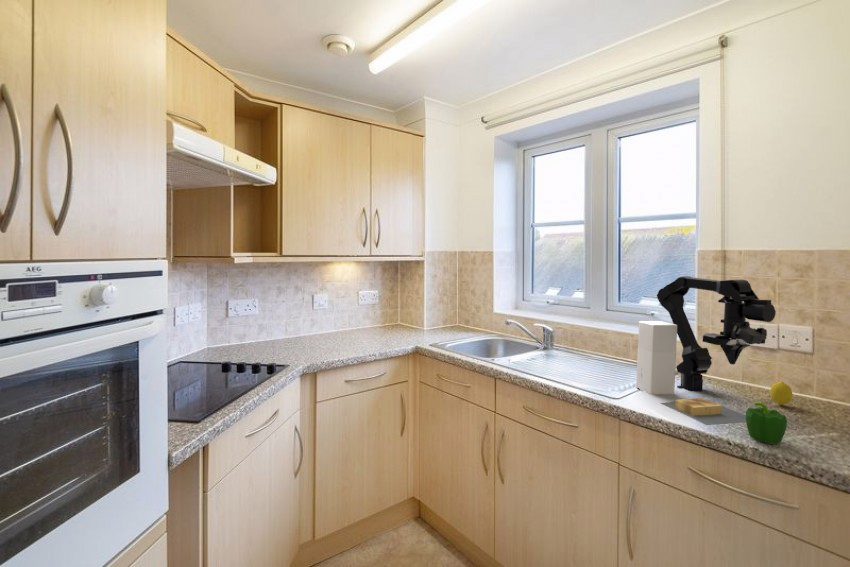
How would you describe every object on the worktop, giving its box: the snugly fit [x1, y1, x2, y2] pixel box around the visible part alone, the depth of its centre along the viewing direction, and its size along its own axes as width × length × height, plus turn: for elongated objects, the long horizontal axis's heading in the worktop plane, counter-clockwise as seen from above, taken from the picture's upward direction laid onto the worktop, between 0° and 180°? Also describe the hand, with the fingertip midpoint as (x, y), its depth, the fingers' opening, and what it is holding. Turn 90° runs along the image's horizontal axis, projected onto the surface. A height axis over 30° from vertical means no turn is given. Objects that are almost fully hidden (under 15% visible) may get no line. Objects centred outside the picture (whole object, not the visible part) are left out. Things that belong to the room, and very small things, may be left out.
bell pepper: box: [745, 401, 788, 445], centre depth 108 cm, size 8×8×10 cm
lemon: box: [769, 381, 793, 406], centre depth 135 cm, size 6×6×8 cm
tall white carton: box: [635, 320, 678, 395], centre depth 147 cm, size 9×9×25 cm
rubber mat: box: [660, 399, 746, 426], centre depth 127 cm, size 18×18×1 cm
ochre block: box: [674, 397, 723, 416], centre depth 128 cm, size 7×2×10 cm
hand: (732, 364), depth 136 cm, fingers closed
